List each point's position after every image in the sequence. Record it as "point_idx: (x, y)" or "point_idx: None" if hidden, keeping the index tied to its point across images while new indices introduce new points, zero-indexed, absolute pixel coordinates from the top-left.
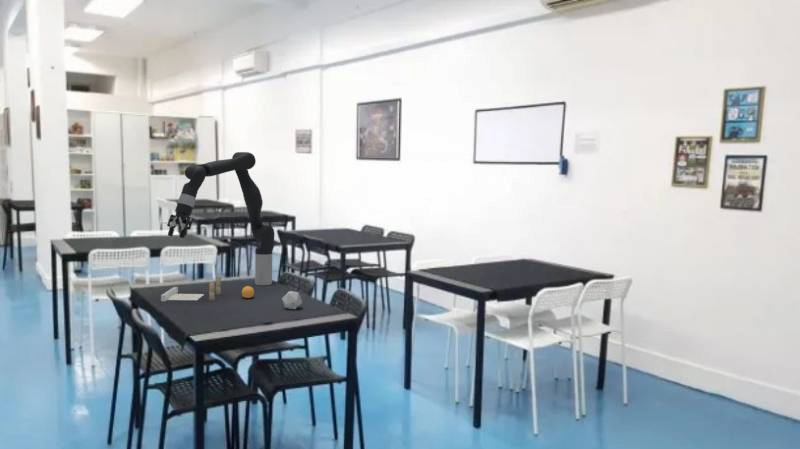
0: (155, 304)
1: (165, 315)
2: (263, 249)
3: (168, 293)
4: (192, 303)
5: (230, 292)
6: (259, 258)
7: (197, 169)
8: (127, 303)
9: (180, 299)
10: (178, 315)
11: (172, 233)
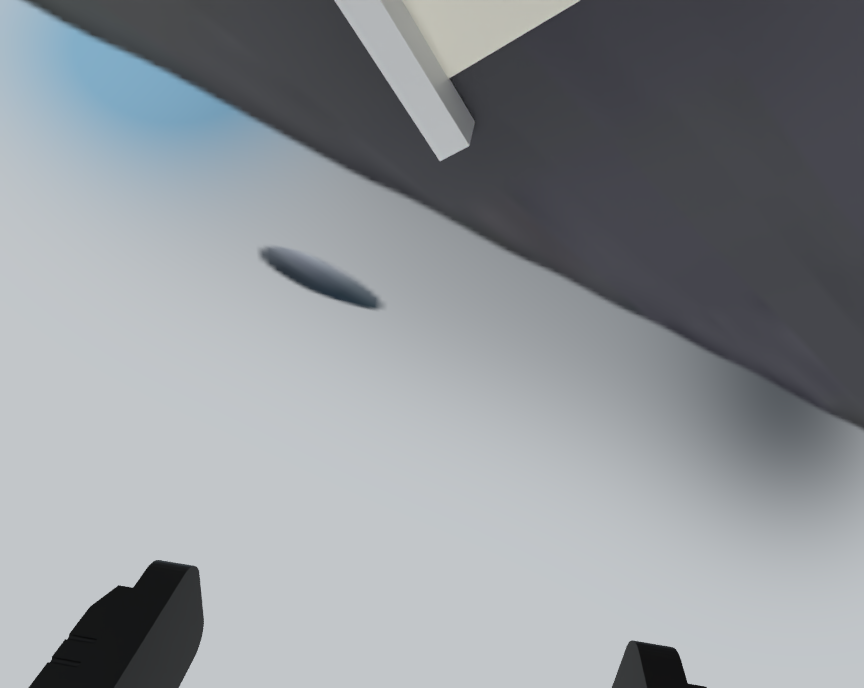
0: (492, 220)
1: (745, 367)
2: None
3: (423, 68)
4: (733, 56)
5: None
6: None
7: None
8: (335, 273)
9: (538, 7)
10: (824, 345)
11: (155, 641)
